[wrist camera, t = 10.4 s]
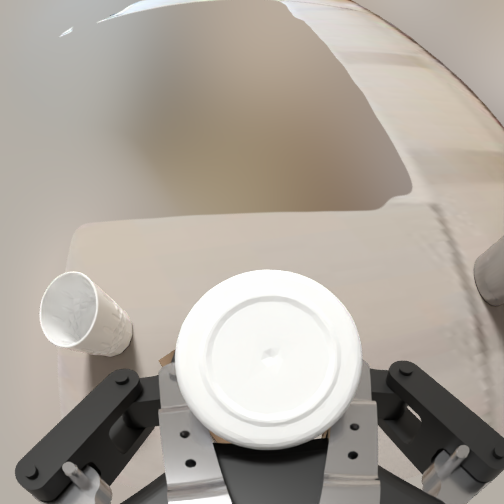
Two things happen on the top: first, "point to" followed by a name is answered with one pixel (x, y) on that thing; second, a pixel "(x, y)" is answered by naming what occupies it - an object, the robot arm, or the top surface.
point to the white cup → (83, 317)
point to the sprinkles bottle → (268, 359)
